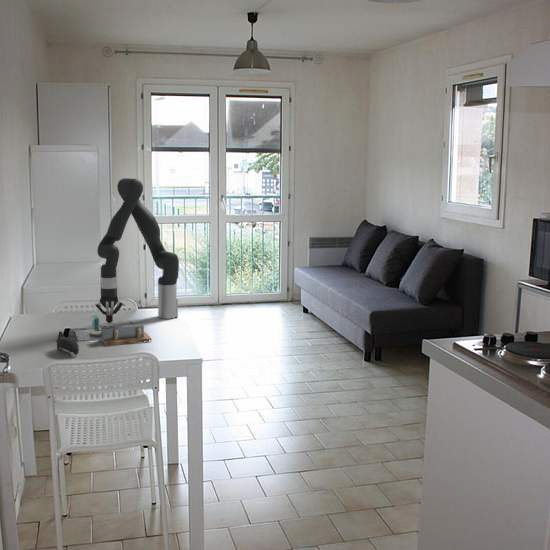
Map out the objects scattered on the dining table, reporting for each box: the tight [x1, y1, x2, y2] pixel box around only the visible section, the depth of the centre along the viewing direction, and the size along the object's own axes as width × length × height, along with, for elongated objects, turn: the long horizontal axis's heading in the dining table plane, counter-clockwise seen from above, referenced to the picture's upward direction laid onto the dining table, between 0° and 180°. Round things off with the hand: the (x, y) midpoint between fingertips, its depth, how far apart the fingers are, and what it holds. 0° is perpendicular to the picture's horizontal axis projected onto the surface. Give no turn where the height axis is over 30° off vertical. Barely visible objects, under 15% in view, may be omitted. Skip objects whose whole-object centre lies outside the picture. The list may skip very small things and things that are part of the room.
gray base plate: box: [77, 334, 101, 342], centre depth 322 cm, size 15×18×1 cm
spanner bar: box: [100, 323, 145, 342], centre depth 312 cm, size 18×6×5 cm, turn 113°
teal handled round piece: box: [89, 314, 101, 336], centre depth 324 cm, size 8×14×6 cm, turn 23°
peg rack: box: [100, 329, 152, 347], centre depth 313 cm, size 20×11×6 cm, turn 113°
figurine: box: [56, 330, 80, 357], centre depth 294 cm, size 8×10×15 cm
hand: (109, 322), depth 331 cm, fingers closed
